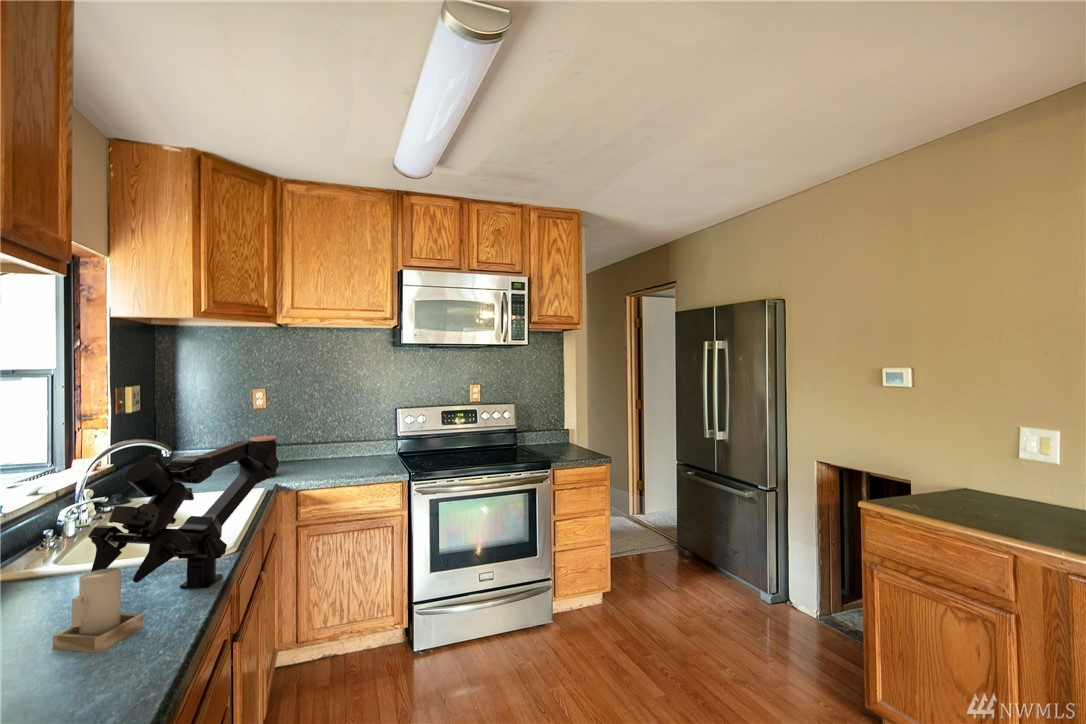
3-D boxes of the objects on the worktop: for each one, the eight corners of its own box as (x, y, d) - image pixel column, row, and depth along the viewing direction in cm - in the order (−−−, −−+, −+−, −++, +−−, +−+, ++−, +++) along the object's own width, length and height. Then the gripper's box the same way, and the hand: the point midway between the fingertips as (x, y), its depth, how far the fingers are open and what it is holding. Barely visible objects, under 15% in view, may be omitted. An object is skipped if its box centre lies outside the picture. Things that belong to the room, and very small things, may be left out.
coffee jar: (268, 479, 231) (268, 439, 231) (244, 479, 231) (244, 439, 231) (280, 474, 242) (281, 436, 242) (258, 474, 242) (258, 435, 242)
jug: (100, 628, 101) (101, 567, 101) (128, 630, 101) (129, 569, 101) (59, 650, 94) (60, 584, 94) (89, 653, 93) (90, 586, 93)
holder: (101, 624, 103) (101, 611, 103) (143, 627, 102) (143, 614, 102) (52, 649, 94) (52, 635, 94) (98, 652, 93) (98, 638, 93)
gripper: (97, 486, 107) (39, 559, 96) (180, 489, 105) (130, 564, 94) (131, 513, 115) (80, 584, 104) (209, 517, 113) (166, 589, 102)
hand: (112, 580), depth 101 cm, fingers open, 9 cm apart
